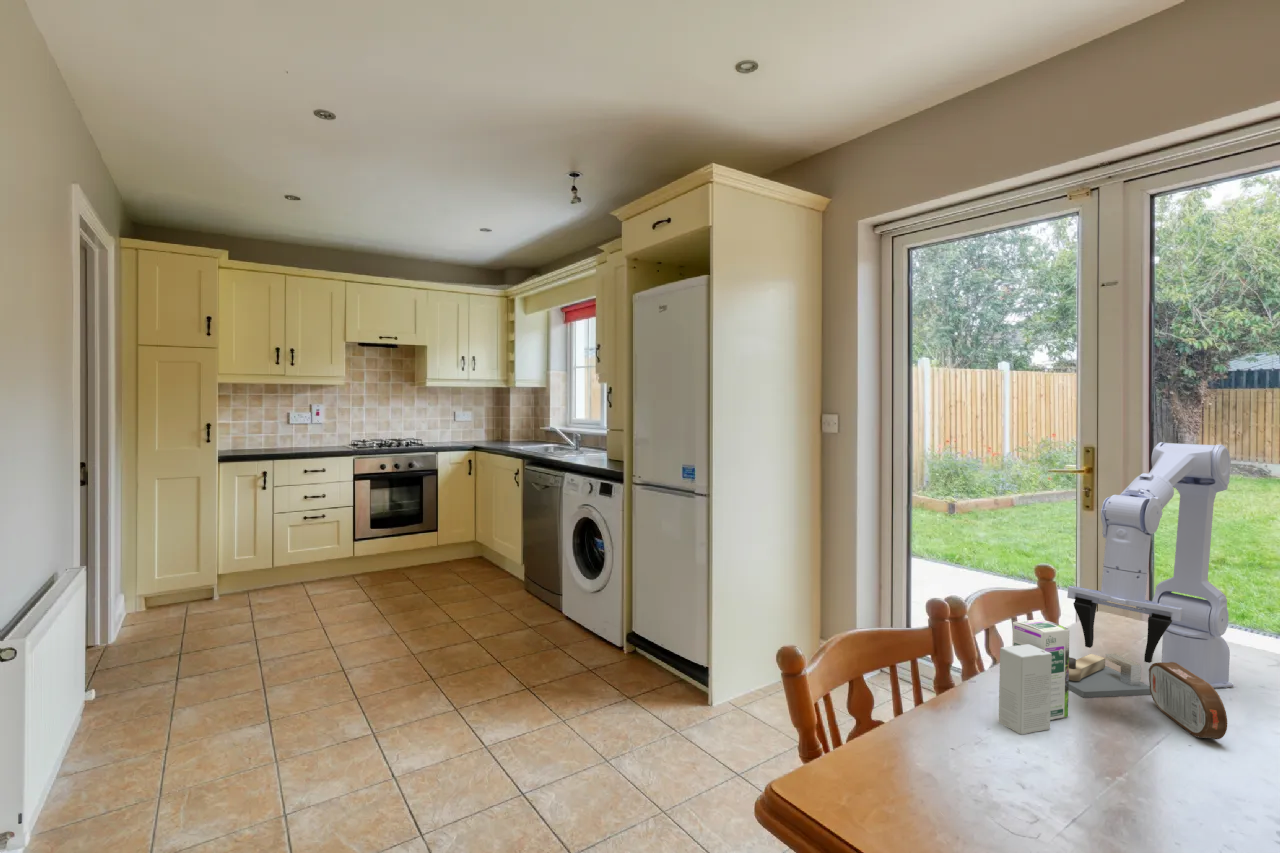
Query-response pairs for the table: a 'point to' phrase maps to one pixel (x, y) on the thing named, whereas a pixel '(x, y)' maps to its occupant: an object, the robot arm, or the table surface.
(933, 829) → the table surface
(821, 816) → the table surface
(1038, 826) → the table surface
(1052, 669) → the syrup box
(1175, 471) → the robot arm
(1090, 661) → the beech link
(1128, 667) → the steel keeper
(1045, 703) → the skincare box
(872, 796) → the table surface
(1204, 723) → the tin
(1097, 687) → the slate board
